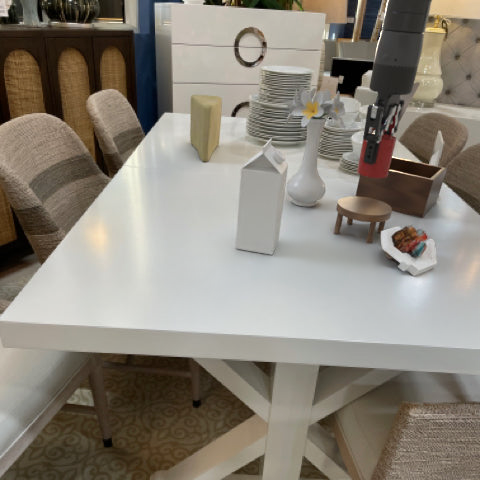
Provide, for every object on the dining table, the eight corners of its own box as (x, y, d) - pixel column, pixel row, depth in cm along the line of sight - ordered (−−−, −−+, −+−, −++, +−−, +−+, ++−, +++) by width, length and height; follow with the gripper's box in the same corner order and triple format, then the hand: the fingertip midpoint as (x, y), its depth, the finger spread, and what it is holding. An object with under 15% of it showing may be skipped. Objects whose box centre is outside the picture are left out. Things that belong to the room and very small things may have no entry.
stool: (391, 232, 101) (399, 205, 98) (374, 248, 93) (381, 219, 90) (344, 218, 106) (349, 192, 103) (324, 233, 98) (329, 205, 95)
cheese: (221, 163, 137) (224, 107, 129) (188, 161, 136) (188, 105, 128) (219, 144, 155) (222, 94, 147) (190, 143, 154) (190, 92, 146)
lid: (420, 82, 110) (402, 73, 111) (403, 87, 100) (383, 77, 101) (382, 153, 122) (366, 144, 123) (363, 163, 112) (346, 153, 113)
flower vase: (321, 190, 122) (339, 83, 108) (335, 217, 106) (358, 96, 93) (271, 187, 121) (283, 79, 107) (278, 213, 106) (293, 91, 92)
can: (391, 173, 94) (400, 136, 90) (381, 180, 89) (390, 141, 85) (363, 167, 96) (370, 131, 92) (352, 173, 92) (359, 136, 88)
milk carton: (235, 249, 88) (242, 144, 78) (243, 235, 94) (251, 135, 84) (272, 255, 87) (284, 150, 77) (278, 241, 93) (291, 140, 83)
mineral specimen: (389, 231, 96) (408, 203, 91) (437, 266, 92) (459, 238, 87) (360, 252, 88) (378, 223, 83) (411, 291, 85) (432, 262, 80)
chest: (436, 203, 120) (447, 168, 115) (422, 218, 110) (433, 180, 105) (373, 188, 127) (380, 154, 122) (354, 200, 117) (362, 164, 112)
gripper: (405, 66, 75) (381, 172, 85) (428, 62, 86) (405, 157, 95) (361, 61, 79) (342, 163, 88) (388, 58, 89) (369, 150, 98)
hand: (375, 159), depth 91 cm, fingers closed on can, 6 cm apart
